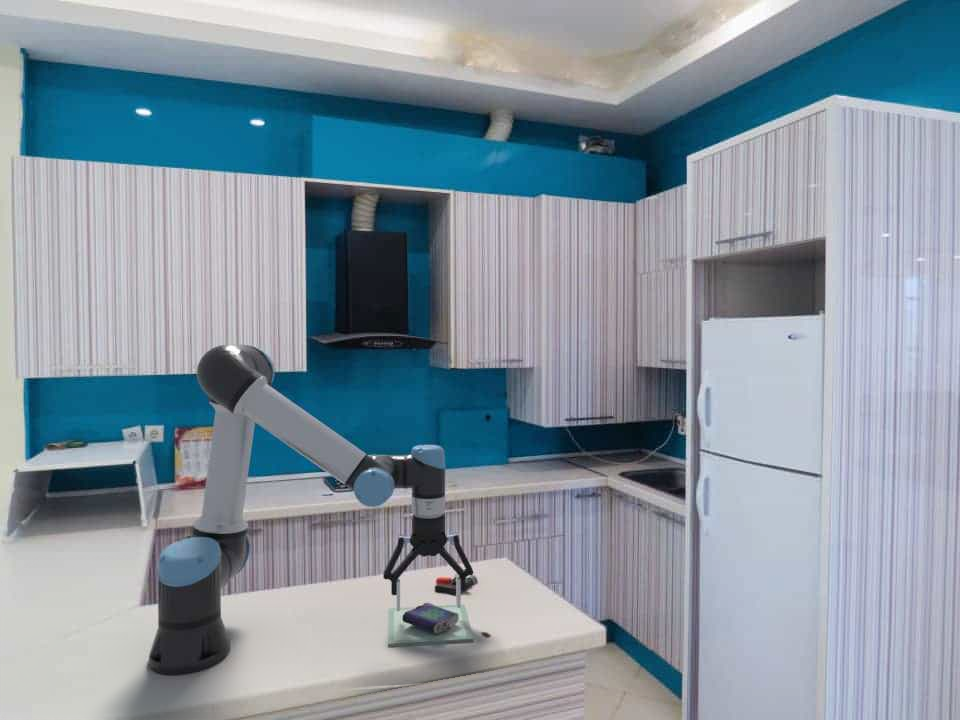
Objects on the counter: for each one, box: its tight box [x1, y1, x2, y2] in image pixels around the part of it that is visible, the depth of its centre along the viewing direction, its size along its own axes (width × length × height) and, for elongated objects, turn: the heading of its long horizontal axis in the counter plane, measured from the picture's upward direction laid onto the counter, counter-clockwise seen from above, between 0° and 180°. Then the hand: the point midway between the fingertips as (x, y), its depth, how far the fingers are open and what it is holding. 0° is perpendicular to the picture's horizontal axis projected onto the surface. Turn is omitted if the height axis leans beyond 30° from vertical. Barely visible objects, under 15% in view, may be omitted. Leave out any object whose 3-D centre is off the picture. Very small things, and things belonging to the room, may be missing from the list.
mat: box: [387, 603, 474, 648], centre depth 142 cm, size 18×18×1 cm
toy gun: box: [434, 573, 478, 596], centre depth 165 cm, size 10×12×5 cm
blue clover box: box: [402, 602, 459, 634], centre depth 140 cm, size 9×3×11 cm
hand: (428, 607), depth 143 cm, fingers open, 13 cm apart
